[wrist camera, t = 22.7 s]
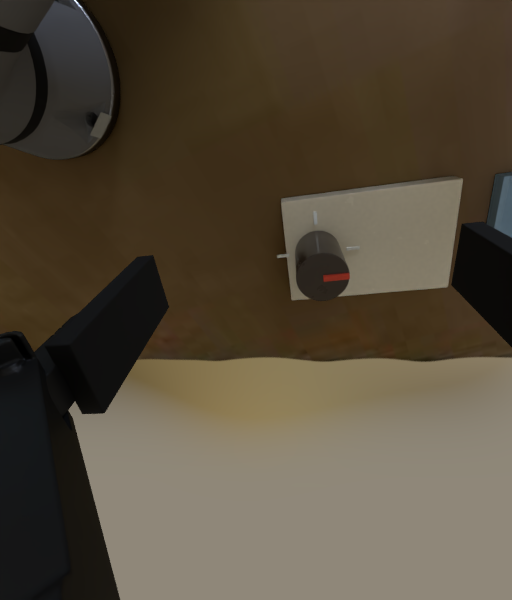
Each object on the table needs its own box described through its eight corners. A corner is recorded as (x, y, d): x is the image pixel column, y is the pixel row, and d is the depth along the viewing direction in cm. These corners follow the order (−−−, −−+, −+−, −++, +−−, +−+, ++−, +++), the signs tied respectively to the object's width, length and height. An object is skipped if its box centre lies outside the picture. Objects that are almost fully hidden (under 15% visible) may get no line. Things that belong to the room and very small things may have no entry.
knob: (297, 274, 38) (298, 304, 32) (293, 233, 36) (293, 257, 30) (340, 269, 38) (350, 300, 31) (339, 227, 35) (349, 251, 29)
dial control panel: (283, 293, 42) (282, 302, 40) (271, 199, 37) (270, 203, 35) (441, 280, 39) (448, 288, 37) (454, 175, 34) (464, 178, 32)
